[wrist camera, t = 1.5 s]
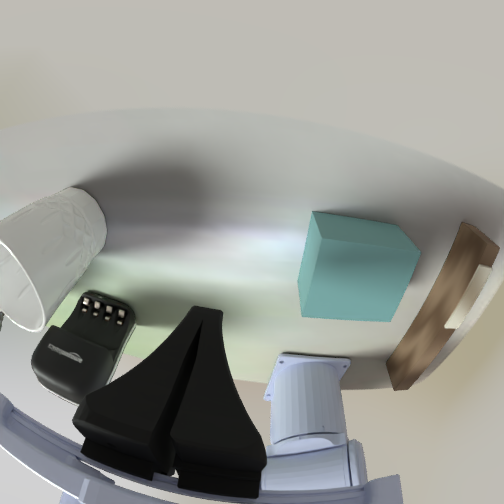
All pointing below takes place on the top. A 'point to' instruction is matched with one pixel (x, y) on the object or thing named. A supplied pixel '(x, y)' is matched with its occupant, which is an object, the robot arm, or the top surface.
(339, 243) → the teal block
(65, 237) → the white cup
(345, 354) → the top surface
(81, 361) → the battery charger
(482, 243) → the walnut board
